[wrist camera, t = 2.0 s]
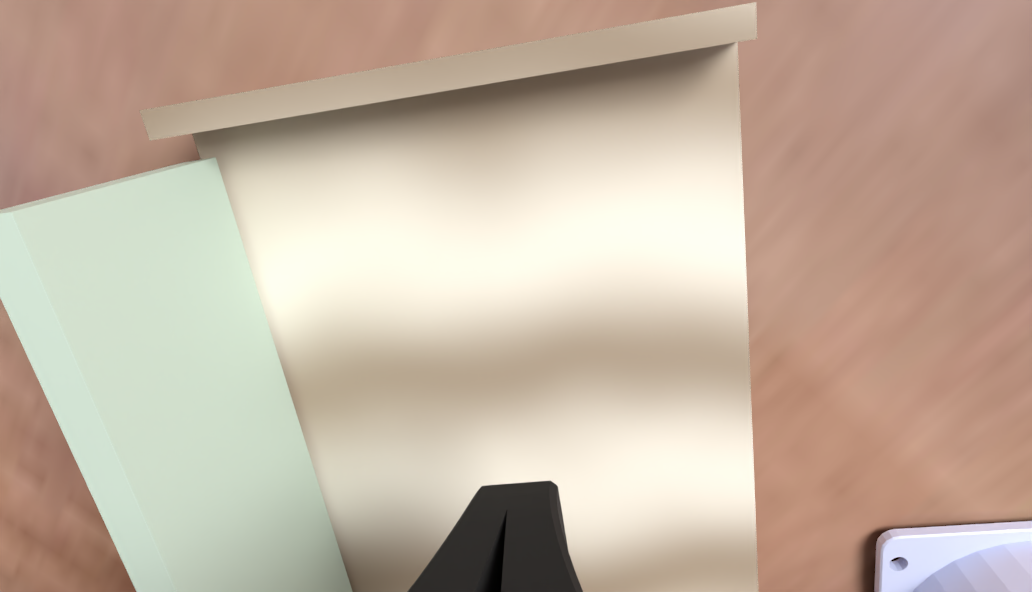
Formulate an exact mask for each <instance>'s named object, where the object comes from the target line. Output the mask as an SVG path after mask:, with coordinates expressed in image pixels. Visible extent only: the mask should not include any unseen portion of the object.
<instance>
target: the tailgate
mask: <svg viewBox="0 0 1032 592" xmlns="http://www.w3.org/2000/svg"><path fill="white" fill-rule="evenodd" d="M0 298H1V300H2V302H3V304H4V306H5V309H6V311H7V313H8V315H9V317H10V319H11V322H12V324H13V326H14V328H15V330H16V332H17V335H18V337H19V339H20V341H21V343H22V345H23V348H24V350H25V352H26V354H27V356H28V358H29V360H30V363H31V365H32V367H33V369H34V371H35V373H36V376H37V378H38V380H39V382H40V384H41V386H42V389H43V391H44V393H45V395H46V397H47V399H48V402H49V404H50V406H51V408H52V410H53V412H54V414H55V417H56V419H57V421H58V423H59V425H60V427H61V430H62V432H63V434H64V436H65V438H66V440H67V443H68V445H69V447H70V449H71V451H72V453H73V456H74V458H75V460H76V462H77V464H78V466H79V468H80V471H81V473H82V475H83V477H84V479H85V481H86V484H87V486H88V488H89V490H90V492H91V494H92V497H93V499H94V501H95V503H96V505H97V507H98V509H99V512H100V514H101V516H102V518H103V520H104V522H105V525H106V527H107V529H108V531H109V533H110V535H111V538H112V540H113V542H114V544H115V546H116V548H117V551H118V553H119V555H120V557H121V559H122V561H123V563H124V566H125V568H126V570H127V572H128V574H129V576H130V579H131V581H132V583H133V585H134V587H135V589H136V592H353V591H352V588H351V585H350V582H349V579H348V575H347V572H346V569H345V566H344V563H343V560H342V556H341V553H340V550H339V547H338V544H337V540H336V537H335V534H334V531H333V528H332V525H331V521H330V518H329V515H328V512H327V509H326V506H325V502H324V499H323V496H322V493H321V490H320V487H319V483H318V480H317V477H316V474H315V471H314V468H313V464H312V461H311V458H310V455H309V452H308V449H307V445H306V442H305V439H304V436H303V433H302V430H301V426H300V423H299V420H298V417H297V414H296V410H295V407H294V404H293V401H292V398H291V395H290V391H289V388H288V385H287V382H286V379H285V376H284V372H283V369H282V366H281V363H280V360H279V357H278V353H277V350H276V347H275V344H274V341H273V338H272V334H271V331H270V328H269V325H268V322H267V319H266V315H265V312H264V309H263V306H262V303H261V300H260V296H259V293H258V290H257V287H256V284H255V281H254V277H253V274H252V271H251V268H250V265H249V261H248V258H247V255H246V252H245V249H244V246H243V242H242V239H241V236H240V233H239V230H238V227H237V223H236V220H235V217H234V214H233V211H232V208H231V204H230V201H229V198H228V195H227V192H226V189H225V185H224V182H223V179H222V176H221V173H220V170H219V166H218V163H217V160H216V157H214V158H207V159H201V160H195V161H189V162H183V163H179V164H175V165H171V166H168V167H164V168H160V169H156V170H152V171H148V172H144V173H141V174H137V175H133V176H129V177H125V178H121V179H117V180H114V181H110V182H106V183H102V184H98V185H94V186H90V187H87V188H83V189H79V190H75V191H71V192H67V193H64V194H60V195H56V196H52V197H48V198H44V199H40V200H37V201H33V202H29V203H25V204H21V205H17V206H13V207H10V208H6V209H2V210H0Z"/></svg>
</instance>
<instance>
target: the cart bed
mask: <svg viewBox="0 0 1032 592" xmlns="http://www.w3.org/2000/svg"><path fill="white" fill-rule="evenodd" d="M753 39H757V16H756V2H755V3H749V4H743V5H738V6H732V7H726V8H721V9H715V10H709V11H703V12H698V13H692V14H686V15H681V16H675V17H669V18H664V19H658V20H652V21H647V22H641V23H635V24H629V25H624V26H618V27H612V28H607V29H601V30H595V31H590V32H584V33H578V34H572V35H567V36H561V37H555V38H550V39H544V40H538V41H533V42H527V43H521V44H515V45H510V46H504V47H498V48H493V49H487V50H481V51H476V52H470V53H464V54H459V55H453V56H447V57H441V58H436V59H430V60H424V61H419V62H413V63H407V64H402V65H396V66H390V67H384V68H379V69H373V70H367V71H362V72H356V73H350V74H345V75H339V76H333V77H327V78H322V79H316V80H310V81H305V82H299V83H293V84H288V85H282V86H276V87H270V88H265V89H259V90H253V91H248V92H242V93H236V94H231V95H225V96H219V97H214V98H208V99H202V100H196V101H191V102H185V103H179V104H174V105H168V106H162V107H157V108H151V109H145V110H139V111H140V113H141V116H142V119H143V122H144V125H145V128H146V131H147V134H148V136H149V139H150V140H156V139H162V138H168V137H174V136H180V135H186V134H192V135H193V138H194V141H195V144H196V147H197V150H198V153H199V156H200V159H207V158H214V157H216V160H217V163H218V166H219V170H220V173H221V176H222V179H223V182H224V185H225V189H226V192H227V195H228V198H229V201H230V204H231V208H232V211H233V214H234V217H235V220H236V223H237V227H238V230H239V233H240V236H241V239H242V242H243V246H244V249H245V252H246V255H247V258H248V261H249V265H250V268H251V271H252V274H253V277H254V281H255V284H256V287H257V290H258V293H259V296H260V300H261V303H262V306H263V309H264V312H265V315H266V319H267V322H268V325H269V328H270V331H271V334H272V338H273V341H274V344H275V347H276V350H277V353H278V357H279V360H280V363H281V366H282V369H283V372H284V376H285V379H286V382H287V385H288V388H289V391H290V395H291V398H292V401H293V404H294V407H295V410H296V414H297V417H298V420H299V423H300V426H301V430H302V433H303V436H304V439H305V442H306V445H307V449H308V452H309V455H310V458H311V461H312V464H313V468H314V471H315V474H316V477H317V480H318V483H319V487H320V490H321V493H322V496H323V499H324V502H325V506H326V509H327V512H328V515H329V518H330V521H331V525H332V528H333V531H334V534H335V537H336V540H337V544H338V547H339V550H340V553H341V556H342V560H343V563H344V566H345V569H346V572H347V575H348V579H349V582H350V585H351V588H352V591H353V592H407V591H408V590H409V589H410V587H411V586H412V585H413V584H414V582H415V581H416V580H417V578H418V577H419V576H420V574H421V573H422V572H423V570H424V569H425V568H426V566H427V565H428V563H429V562H430V561H431V559H432V558H433V556H434V555H435V554H436V552H437V551H438V549H439V548H440V547H441V545H442V544H443V542H444V541H445V539H446V538H447V536H448V535H449V534H450V532H451V531H452V529H453V528H454V526H455V525H456V523H457V522H458V520H459V519H460V517H461V515H462V514H463V512H464V511H465V509H466V508H467V506H468V505H469V503H470V502H471V500H472V498H473V497H474V495H475V494H476V492H477V491H478V490H479V489H480V488H481V486H486V485H499V484H512V483H525V482H538V481H552V482H553V483H555V484H556V485H557V486H558V491H559V497H560V503H561V509H562V515H563V521H564V527H565V533H566V539H567V546H568V552H569V555H570V558H571V561H572V563H573V566H574V569H575V572H576V575H577V577H578V580H579V583H580V585H581V588H582V590H583V592H758V567H757V540H756V514H755V488H754V462H753V436H752V410H751V384H750V357H749V331H748V305H747V279H746V253H745V227H744V200H743V174H742V148H741V122H740V96H739V70H738V44H737V42H741V41H747V40H753Z"/></svg>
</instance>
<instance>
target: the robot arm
mask: <svg viewBox="0 0 1032 592" xmlns="http://www.w3.org/2000/svg"><path fill="white" fill-rule="evenodd" d="M897 557H900V558H899V559H898V560H895V561H891V560H892V559H894V558H897ZM407 592H583V590H582V588H581V585H580V583H579V580H578V577H577V575H576V572H575V569H574V566H573V563H572V561H571V558H570V555H569V552H568V546H567V539H566V533H565V527H564V521H563V515H562V509H561V503H560V497H559V491H558V486H557V485H556V484H555V483H553V482H552V481H538V482H525V483H512V484H499V485H486V486H481V488H480V489H479V490H478V491H477V492H476V494H475V495H474V497H473V498H472V500H471V502H470V503H469V505H468V506H467V508H466V509H465V511H464V512H463V514H462V515H461V517H460V519H459V520H458V522H457V523H456V525H455V526H454V528H453V529H452V531H451V532H450V534H449V535H448V536H447V538H446V539H445V541H444V542H443V544H442V545H441V547H440V548H439V549H438V551H437V552H436V554H435V555H434V556H433V558H432V559H431V561H430V562H429V563H428V565H427V566H426V568H425V569H424V570H423V572H422V573H421V574H420V576H419V577H418V578H417V580H416V581H415V582H414V584H413V585H412V586H411V587H410V589H409V590H408V591H407ZM874 592H1032V521H1021V522H1005V523H988V524H971V525H954V526H937V527H920V528H904V529H892V530H888V531H886V532H884V533H882V534H881V535H880V536H879V538H878V539H877V543H876V563H875V588H874Z"/></svg>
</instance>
